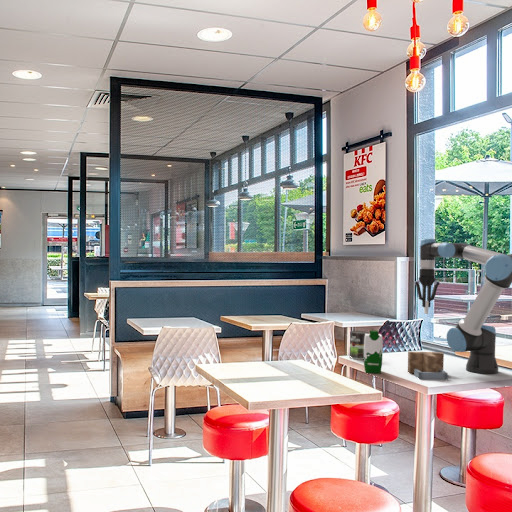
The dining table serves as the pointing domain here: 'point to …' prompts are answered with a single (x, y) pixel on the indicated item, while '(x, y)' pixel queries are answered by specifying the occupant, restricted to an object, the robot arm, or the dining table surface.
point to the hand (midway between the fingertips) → (426, 313)
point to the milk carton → (373, 352)
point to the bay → (431, 374)
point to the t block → (425, 361)
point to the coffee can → (357, 344)
